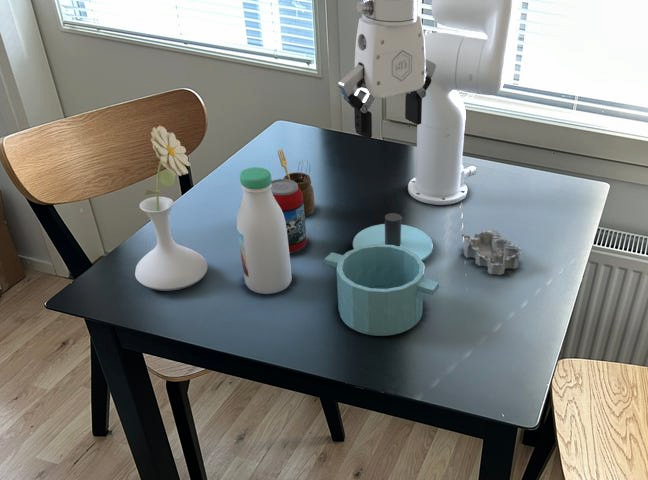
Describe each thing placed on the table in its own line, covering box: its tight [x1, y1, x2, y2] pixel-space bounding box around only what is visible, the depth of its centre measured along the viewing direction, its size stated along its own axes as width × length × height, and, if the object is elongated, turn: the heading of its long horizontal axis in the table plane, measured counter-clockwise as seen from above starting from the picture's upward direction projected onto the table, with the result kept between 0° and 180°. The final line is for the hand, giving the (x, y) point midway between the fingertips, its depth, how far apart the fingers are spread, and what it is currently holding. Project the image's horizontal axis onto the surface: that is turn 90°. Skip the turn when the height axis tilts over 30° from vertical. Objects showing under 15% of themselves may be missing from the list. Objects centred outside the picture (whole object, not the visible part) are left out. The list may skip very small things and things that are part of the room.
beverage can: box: [271, 178, 307, 254], centre depth 124 cm, size 7×7×12 cm
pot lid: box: [352, 212, 434, 262], centre depth 128 cm, size 15×15×7 cm
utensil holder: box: [277, 148, 315, 217], centre depth 135 cm, size 6×6×12 cm
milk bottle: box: [236, 166, 292, 295], centre depth 113 cm, size 8×8×20 cm
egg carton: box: [461, 229, 525, 276], centre depth 128 cm, size 11×8×4 cm
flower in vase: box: [134, 125, 209, 292], centre depth 110 cm, size 13×11×25 cm
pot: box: [323, 244, 440, 337], centre depth 112 cm, size 14×19×8 cm
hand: (389, 128), depth 107 cm, fingers open, 9 cm apart
